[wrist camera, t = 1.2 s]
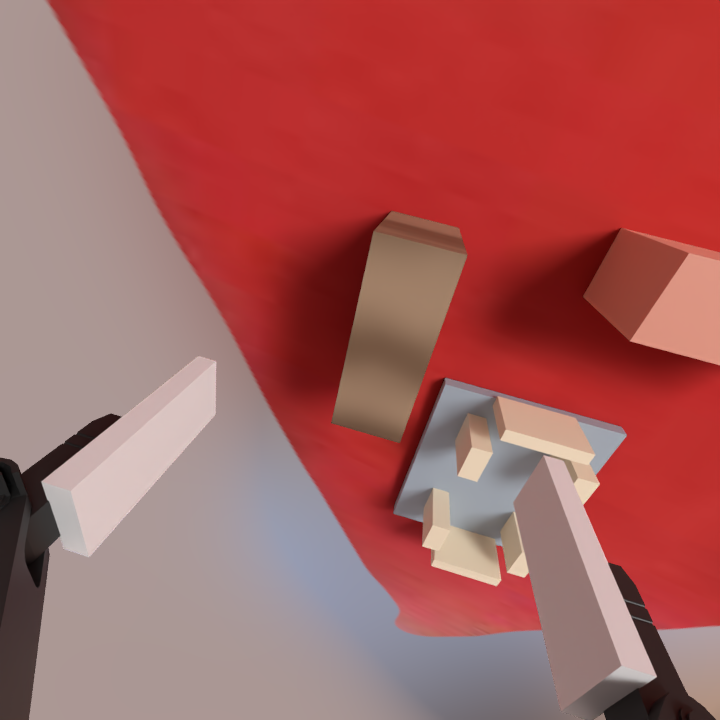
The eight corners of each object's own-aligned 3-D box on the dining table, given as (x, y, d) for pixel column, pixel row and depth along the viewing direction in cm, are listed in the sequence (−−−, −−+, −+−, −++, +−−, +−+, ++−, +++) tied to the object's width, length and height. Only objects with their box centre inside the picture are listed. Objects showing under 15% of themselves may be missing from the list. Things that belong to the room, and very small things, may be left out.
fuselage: (391, 210, 24) (373, 231, 17) (458, 227, 24) (467, 255, 17) (355, 362, 30) (331, 423, 23) (408, 377, 30) (399, 443, 23)
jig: (446, 375, 29) (447, 412, 25) (623, 424, 28) (656, 472, 24) (393, 506, 37) (388, 552, 33) (528, 547, 36) (541, 599, 32)
